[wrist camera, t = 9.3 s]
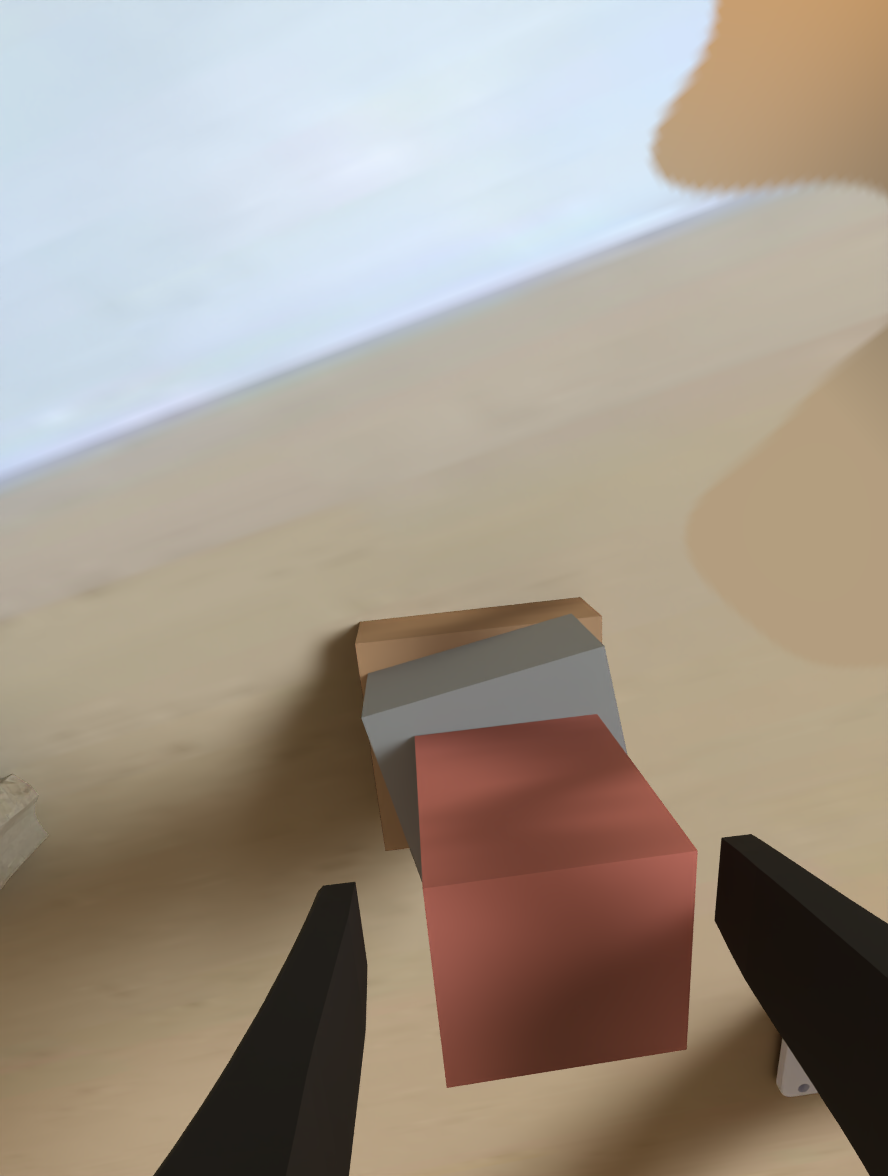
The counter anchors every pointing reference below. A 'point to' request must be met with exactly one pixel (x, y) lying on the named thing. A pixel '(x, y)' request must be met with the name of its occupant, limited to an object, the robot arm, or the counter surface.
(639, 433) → the counter surface
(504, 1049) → the cube
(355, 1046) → the robot arm
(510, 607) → the walnut block
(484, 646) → the slate block
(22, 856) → the egg carton
